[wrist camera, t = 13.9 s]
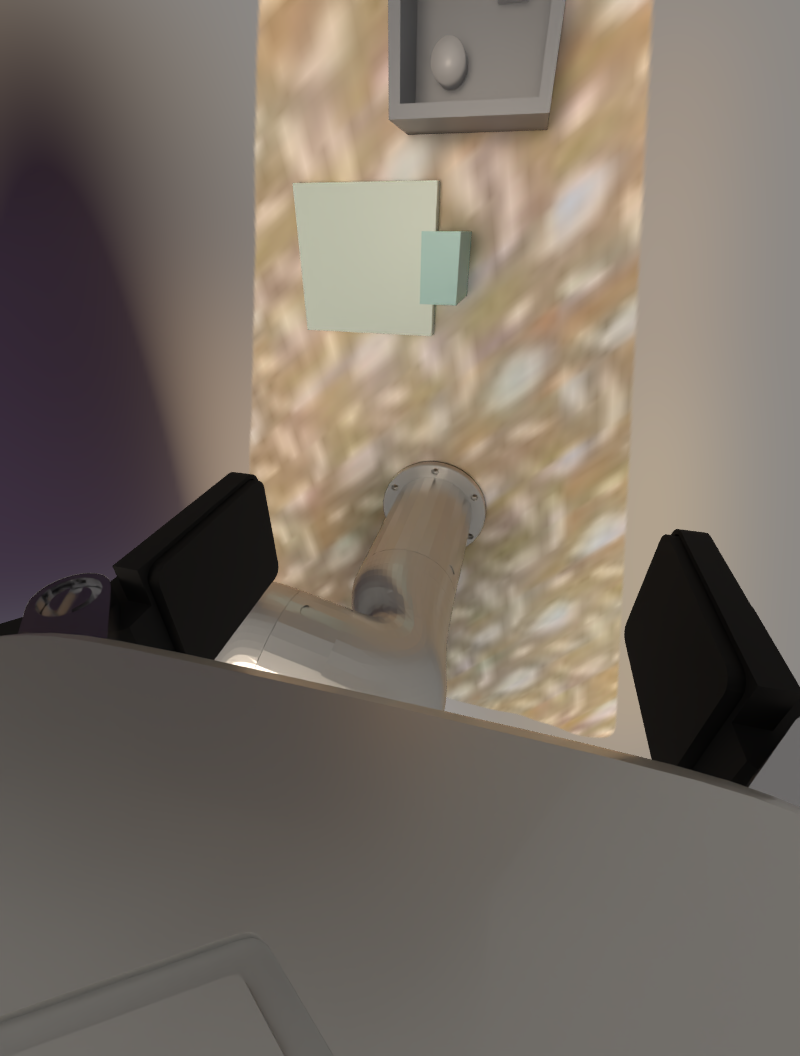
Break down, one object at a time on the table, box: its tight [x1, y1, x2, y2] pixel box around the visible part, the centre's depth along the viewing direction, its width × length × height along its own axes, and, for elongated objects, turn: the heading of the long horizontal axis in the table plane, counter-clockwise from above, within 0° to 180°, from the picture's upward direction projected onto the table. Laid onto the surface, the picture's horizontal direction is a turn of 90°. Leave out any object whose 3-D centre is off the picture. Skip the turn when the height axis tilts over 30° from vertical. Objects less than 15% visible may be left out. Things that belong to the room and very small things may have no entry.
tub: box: [388, 0, 566, 135], centre depth 30 cm, size 12×11×6 cm
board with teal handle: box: [293, 180, 472, 336], centre depth 39 cm, size 16×12×7 cm
